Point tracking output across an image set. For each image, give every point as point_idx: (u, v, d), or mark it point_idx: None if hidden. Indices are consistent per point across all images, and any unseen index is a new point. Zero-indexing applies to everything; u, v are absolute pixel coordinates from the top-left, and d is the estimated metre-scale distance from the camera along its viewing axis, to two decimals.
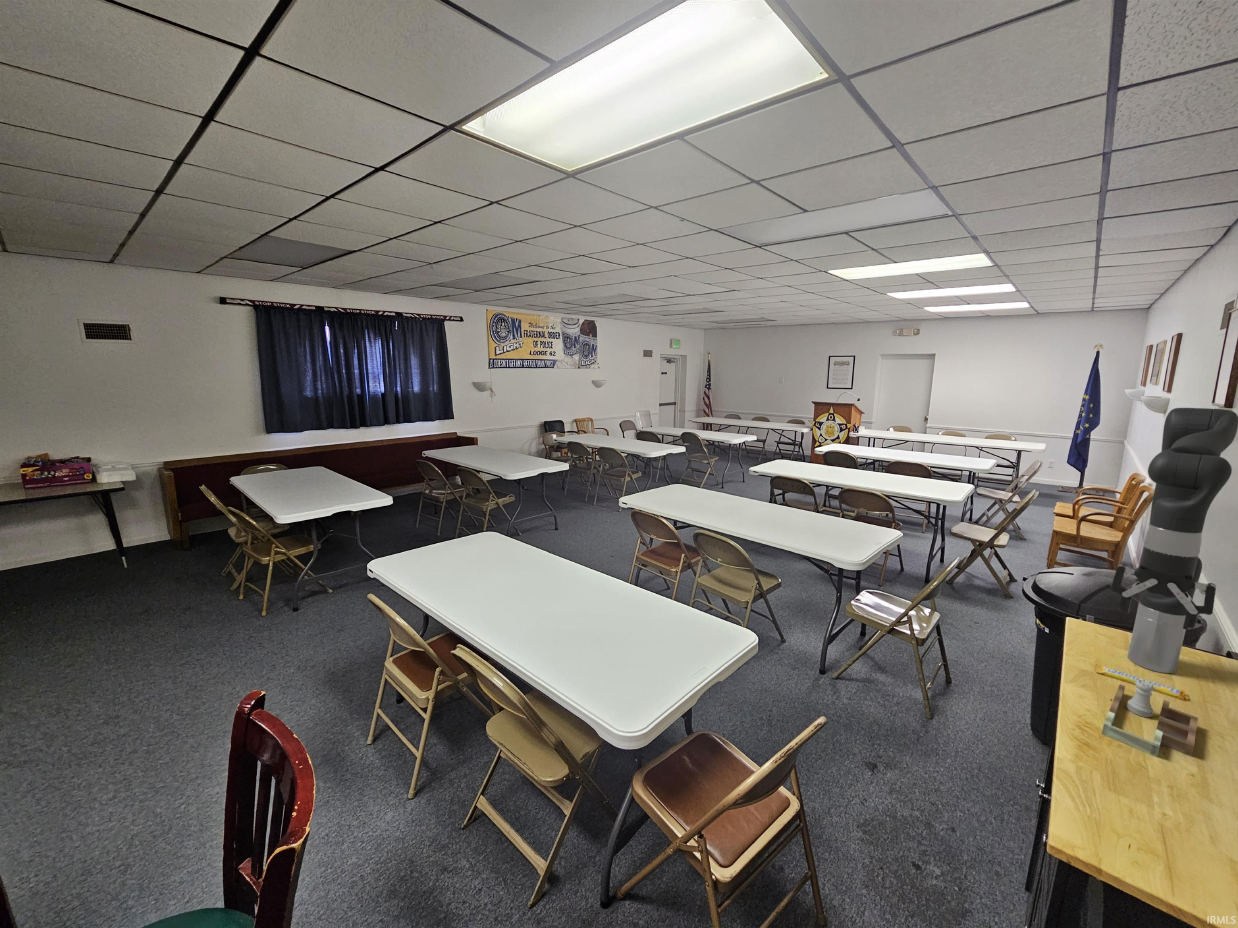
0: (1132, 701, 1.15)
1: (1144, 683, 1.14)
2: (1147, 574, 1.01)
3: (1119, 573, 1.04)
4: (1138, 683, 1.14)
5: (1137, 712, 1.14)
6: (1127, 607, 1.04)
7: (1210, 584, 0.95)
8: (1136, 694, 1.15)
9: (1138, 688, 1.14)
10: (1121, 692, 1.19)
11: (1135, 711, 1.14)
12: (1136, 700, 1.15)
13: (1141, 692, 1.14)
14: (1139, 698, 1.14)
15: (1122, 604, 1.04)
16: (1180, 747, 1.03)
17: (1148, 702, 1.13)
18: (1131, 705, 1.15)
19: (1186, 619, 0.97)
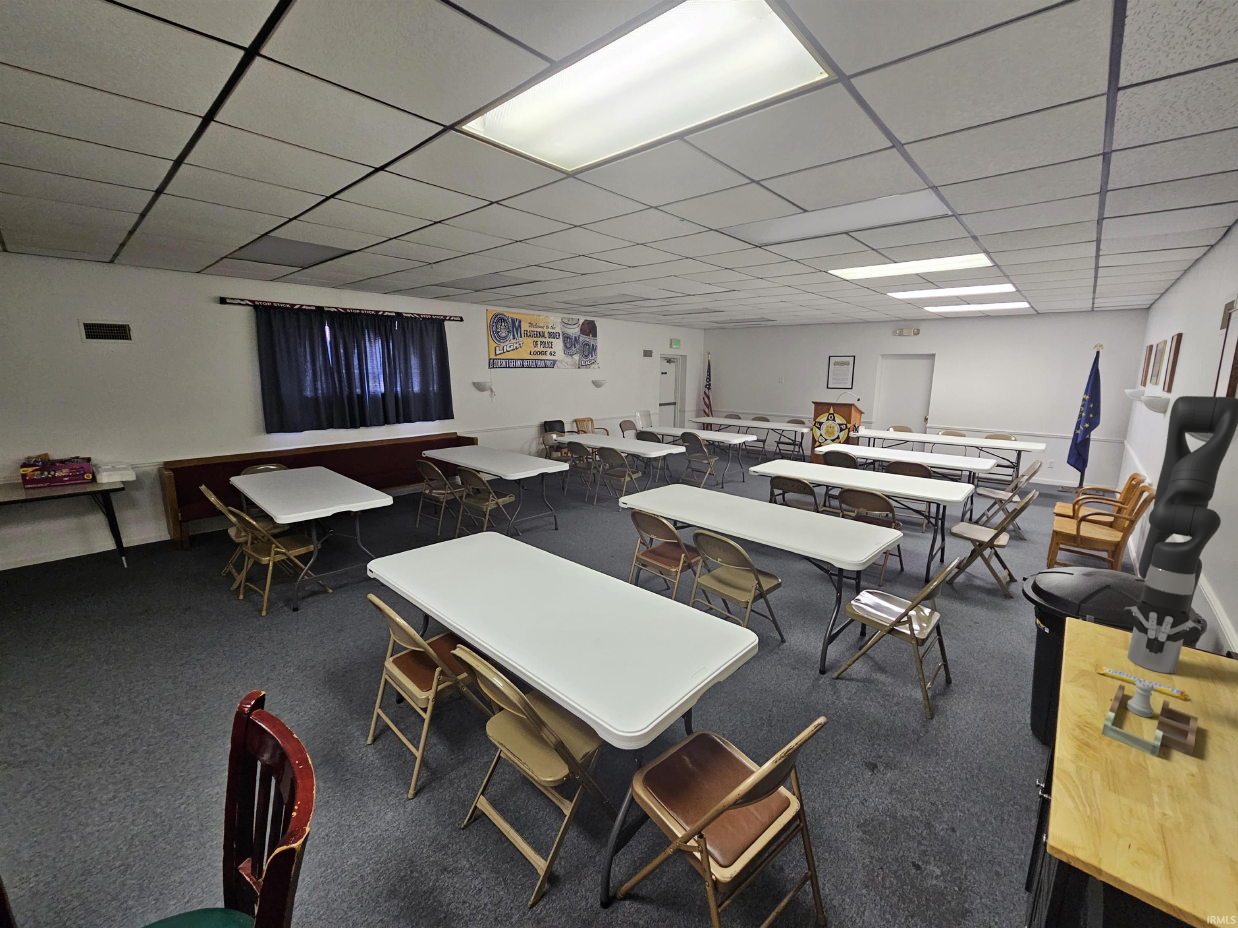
0: (1132, 701, 1.15)
1: (1144, 683, 1.14)
2: (1146, 605, 1.16)
3: (1129, 615, 1.18)
4: (1138, 683, 1.14)
5: (1137, 712, 1.14)
6: (1152, 647, 1.15)
7: (1198, 626, 1.10)
8: (1136, 694, 1.15)
9: (1138, 688, 1.14)
10: (1121, 692, 1.19)
11: (1135, 711, 1.14)
12: (1136, 700, 1.15)
13: (1141, 692, 1.14)
14: (1139, 698, 1.14)
15: (1148, 644, 1.16)
16: (1180, 747, 1.03)
17: (1148, 702, 1.13)
18: (1131, 705, 1.15)
19: (1156, 645, 1.15)
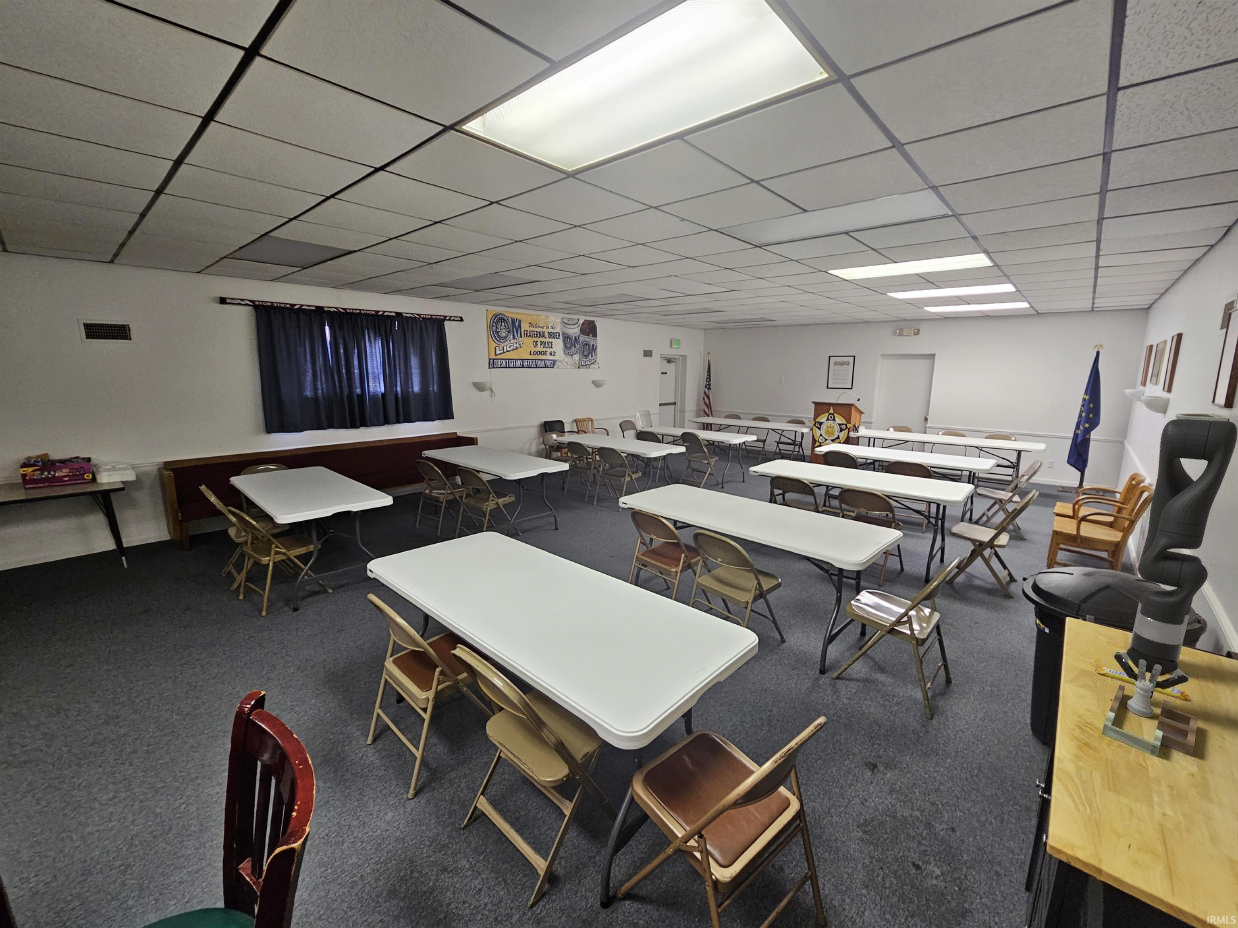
0: (1132, 701, 1.15)
1: (1144, 683, 1.14)
2: (1135, 652, 1.18)
3: (1120, 661, 1.20)
4: (1138, 683, 1.14)
5: (1137, 712, 1.14)
6: None
7: (1186, 675, 1.12)
8: (1136, 694, 1.15)
9: (1138, 688, 1.14)
10: (1121, 692, 1.19)
11: (1135, 711, 1.14)
12: (1136, 700, 1.15)
13: (1141, 692, 1.14)
14: (1139, 698, 1.14)
15: None
16: (1180, 747, 1.03)
17: (1148, 702, 1.13)
18: (1131, 705, 1.15)
19: None
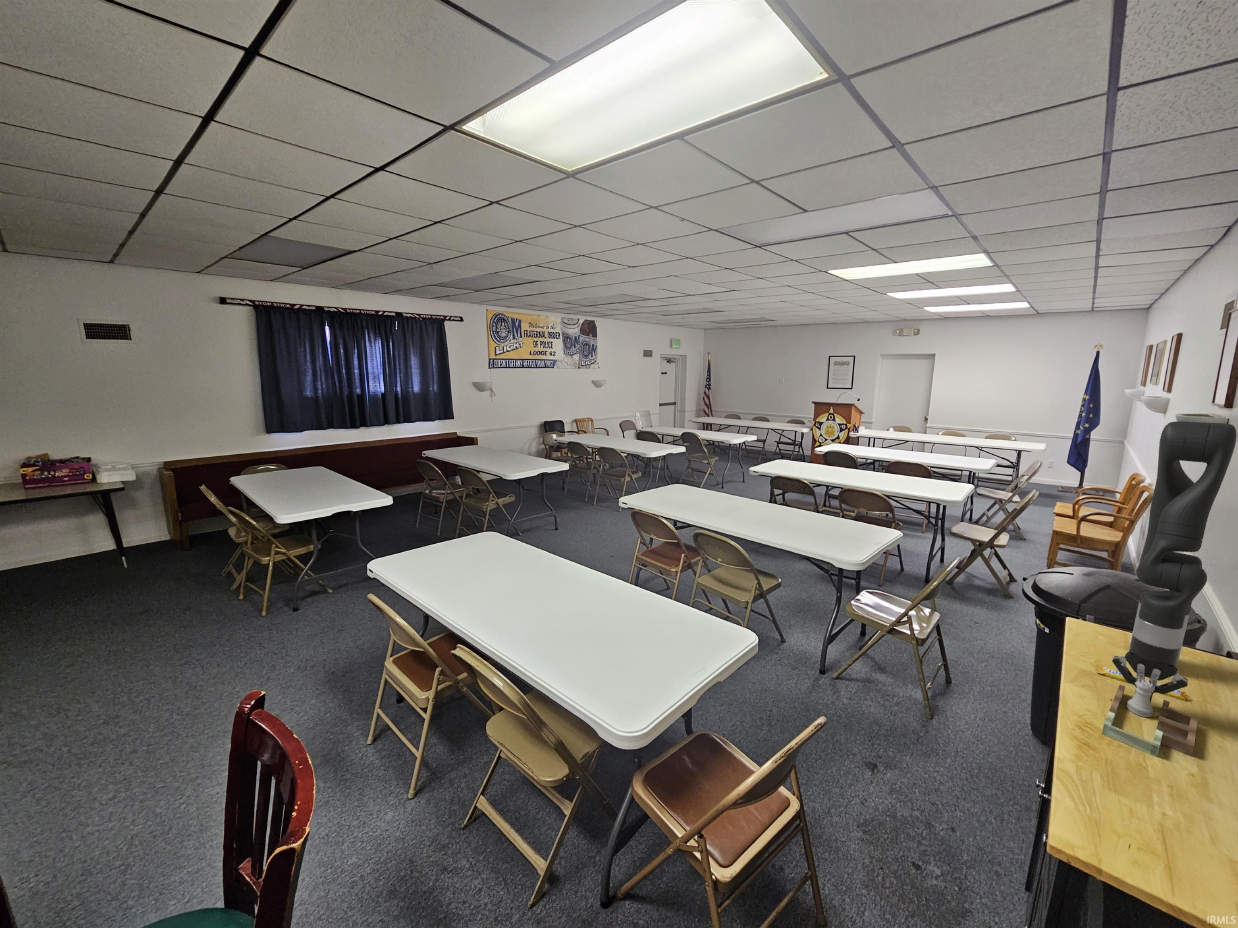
0: (1132, 701, 1.15)
1: (1144, 683, 1.14)
2: (1134, 657, 1.16)
3: (1118, 665, 1.19)
4: (1138, 683, 1.14)
5: (1137, 712, 1.14)
6: None
7: (1185, 680, 1.11)
8: (1136, 694, 1.15)
9: (1138, 688, 1.14)
10: (1121, 692, 1.19)
11: (1135, 711, 1.14)
12: (1136, 700, 1.15)
13: (1141, 692, 1.14)
14: (1139, 698, 1.14)
15: None
16: (1180, 747, 1.03)
17: (1148, 702, 1.13)
18: (1131, 705, 1.15)
19: None
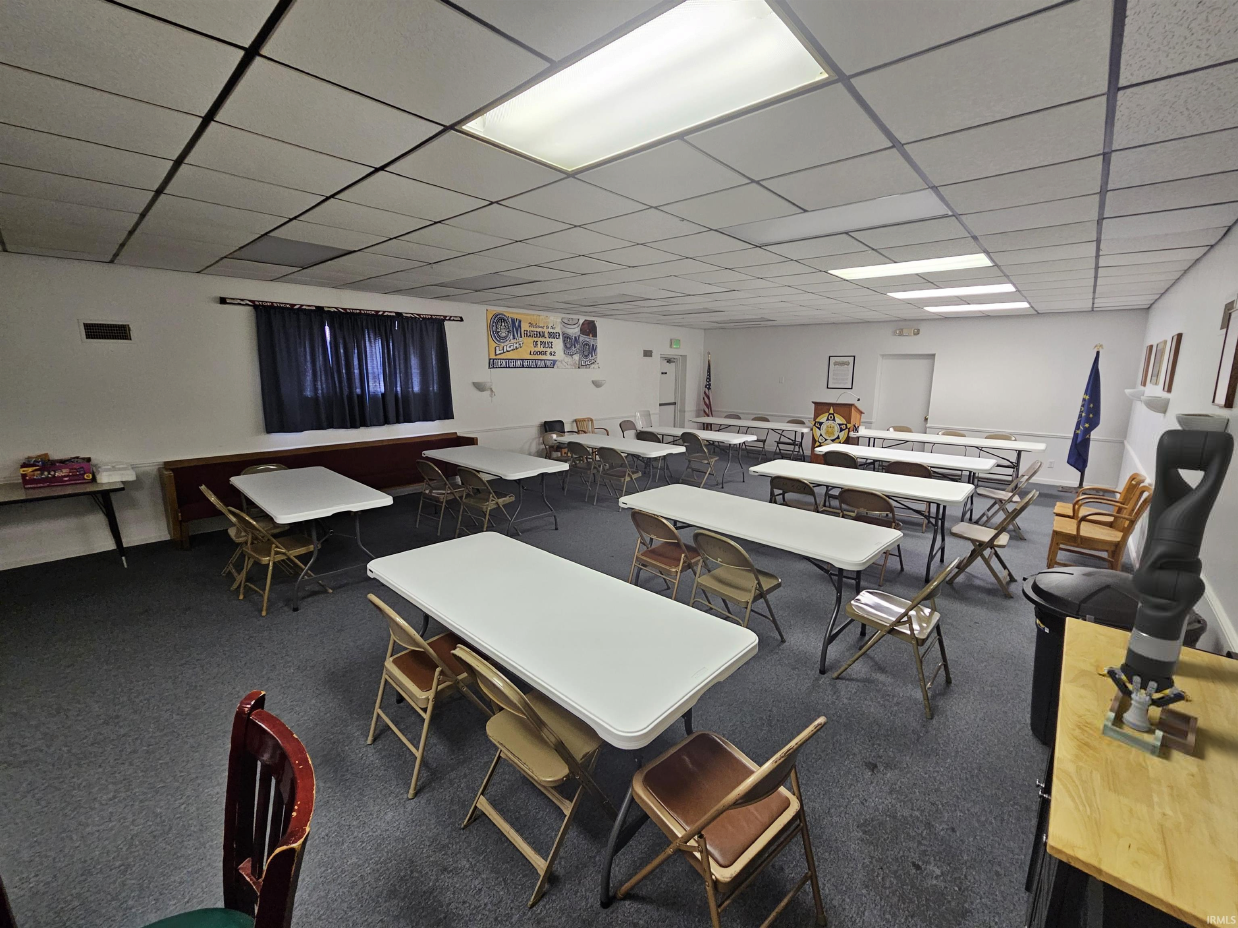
0: (1128, 714, 1.11)
1: (1140, 696, 1.09)
2: (1129, 668, 1.12)
3: (1113, 677, 1.14)
4: (1134, 696, 1.10)
5: (1134, 726, 1.10)
6: None
7: (1183, 693, 1.06)
8: (1132, 707, 1.10)
9: (1134, 701, 1.10)
10: None
11: (1132, 725, 1.10)
12: (1132, 713, 1.10)
13: (1138, 705, 1.09)
14: (1136, 712, 1.10)
15: None
16: (1180, 747, 1.03)
17: (1145, 715, 1.09)
18: (1127, 719, 1.11)
19: None
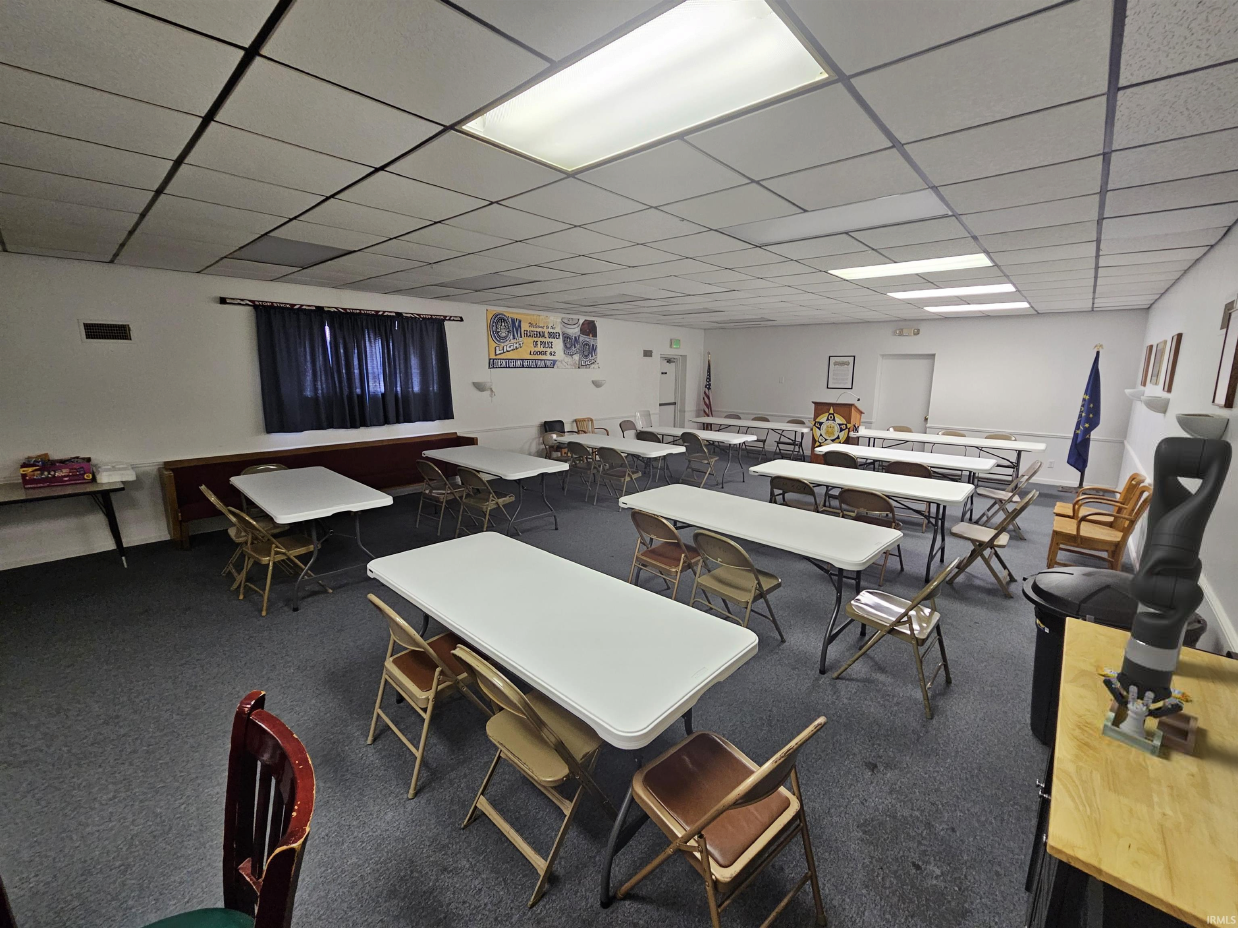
0: (1125, 725, 1.08)
1: (1137, 706, 1.06)
2: (1126, 678, 1.09)
3: (1109, 686, 1.11)
4: (1131, 706, 1.07)
5: None
6: None
7: (1181, 704, 1.03)
8: (1129, 718, 1.07)
9: (1131, 711, 1.07)
10: None
11: None
12: (1129, 724, 1.07)
13: (1134, 716, 1.06)
14: (1132, 722, 1.06)
15: None
16: (1180, 747, 1.03)
17: (1142, 726, 1.06)
18: (1124, 729, 1.07)
19: None
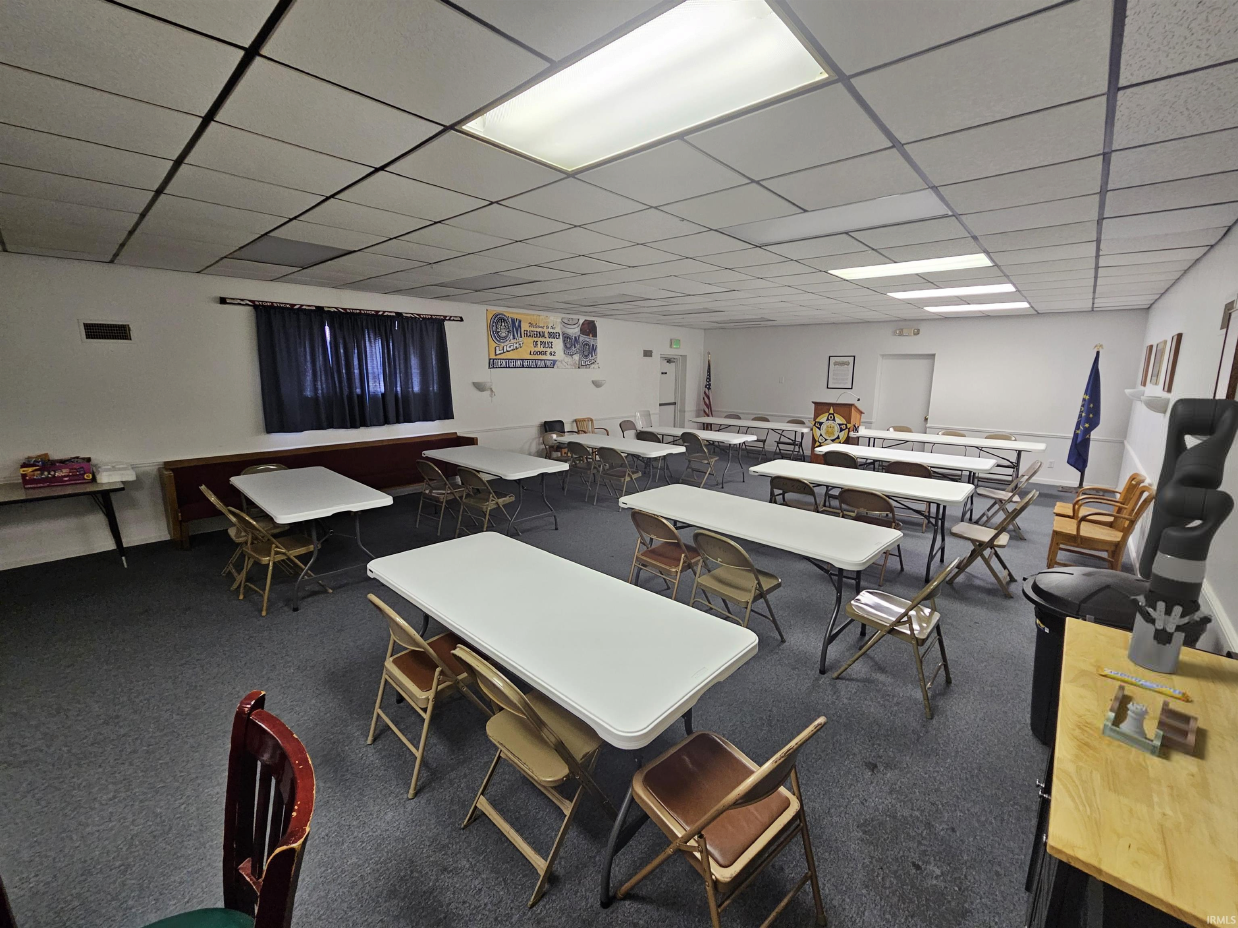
0: (1124, 725, 1.08)
1: (1137, 706, 1.06)
2: (1153, 594, 1.09)
3: (1136, 605, 1.11)
4: (1131, 706, 1.07)
5: None
6: (1160, 638, 1.09)
7: (1210, 616, 1.03)
8: (1129, 718, 1.07)
9: (1131, 711, 1.07)
10: (1121, 692, 1.19)
11: None
12: (1129, 724, 1.07)
13: (1134, 716, 1.06)
14: (1132, 722, 1.06)
15: (1155, 635, 1.10)
16: (1180, 747, 1.03)
17: (1141, 726, 1.06)
18: (1124, 730, 1.07)
19: (1164, 636, 1.08)
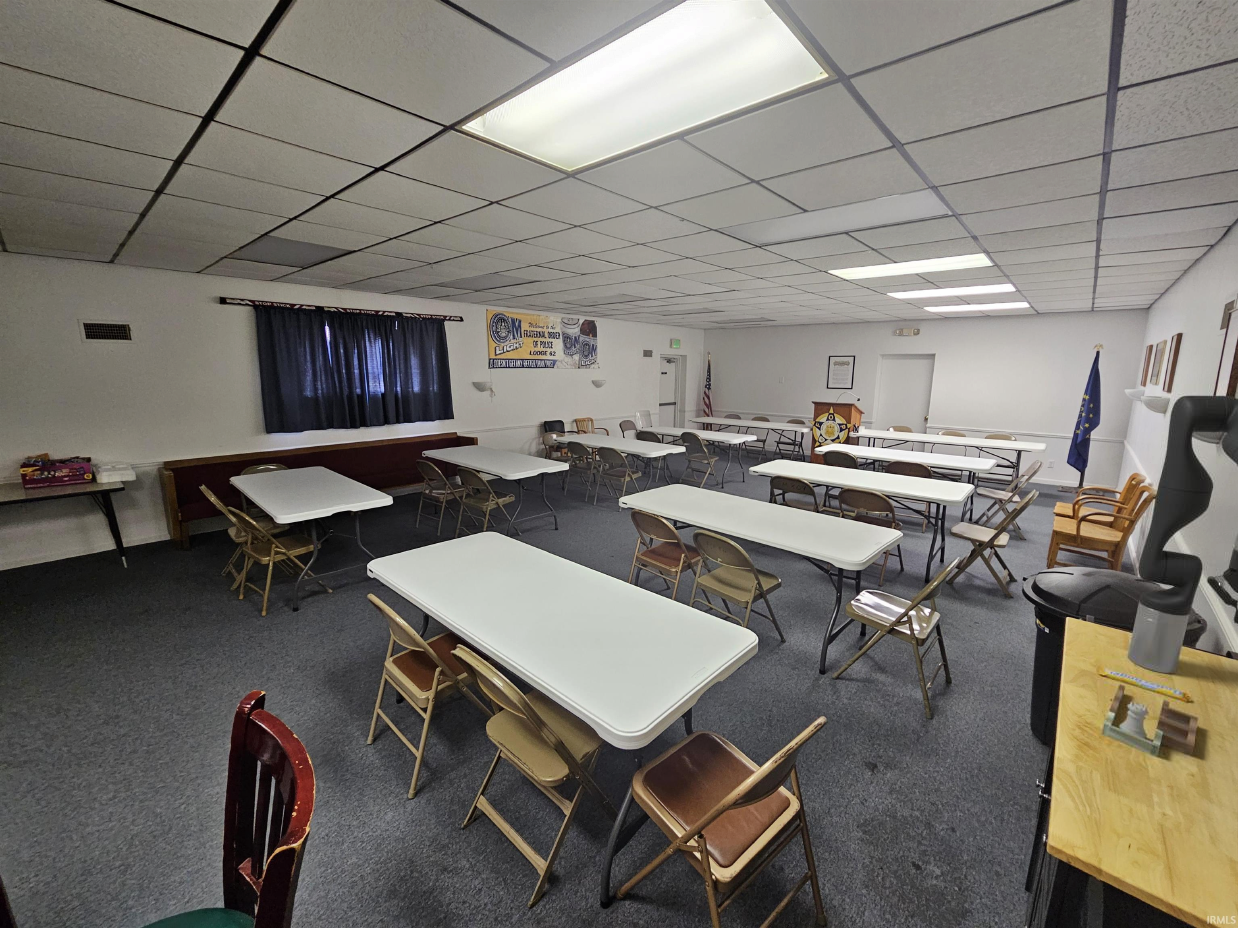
0: (1124, 725, 1.08)
1: (1137, 706, 1.06)
2: (1235, 574, 1.02)
3: (1215, 586, 1.04)
4: (1131, 706, 1.06)
5: None
6: None
7: None
8: (1129, 718, 1.07)
9: (1131, 711, 1.07)
10: (1121, 692, 1.19)
11: None
12: (1129, 724, 1.07)
13: (1134, 716, 1.06)
14: (1132, 722, 1.06)
15: (1237, 617, 1.03)
16: (1180, 747, 1.03)
17: (1141, 726, 1.06)
18: (1124, 730, 1.07)
19: None
